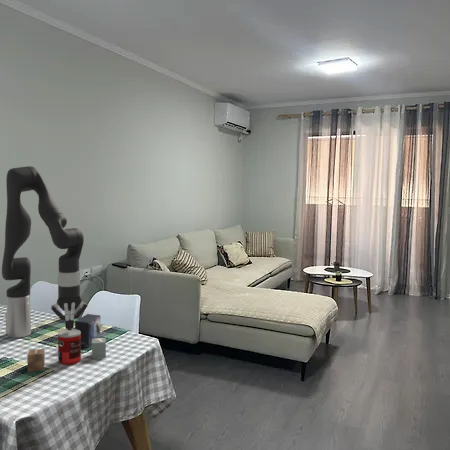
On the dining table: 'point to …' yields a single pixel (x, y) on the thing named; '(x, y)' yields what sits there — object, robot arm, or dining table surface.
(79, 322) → the small box
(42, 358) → the walnut digit block
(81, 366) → the dining table surface
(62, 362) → the canned food
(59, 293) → the robot arm
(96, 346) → the slate digit block
